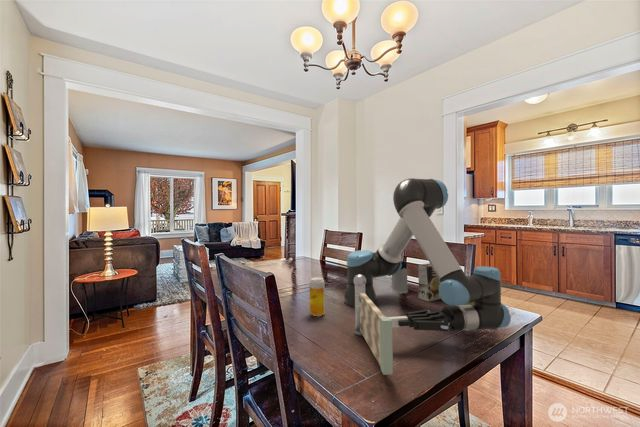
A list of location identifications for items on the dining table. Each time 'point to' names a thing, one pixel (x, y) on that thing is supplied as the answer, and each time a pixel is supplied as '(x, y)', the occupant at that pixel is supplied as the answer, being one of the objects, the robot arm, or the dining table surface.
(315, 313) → the orange and white cylinder
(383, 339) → the gate panel
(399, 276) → the glass holder
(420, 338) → the dining table surface
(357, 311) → the gate post
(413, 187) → the robot arm
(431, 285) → the coffee box
